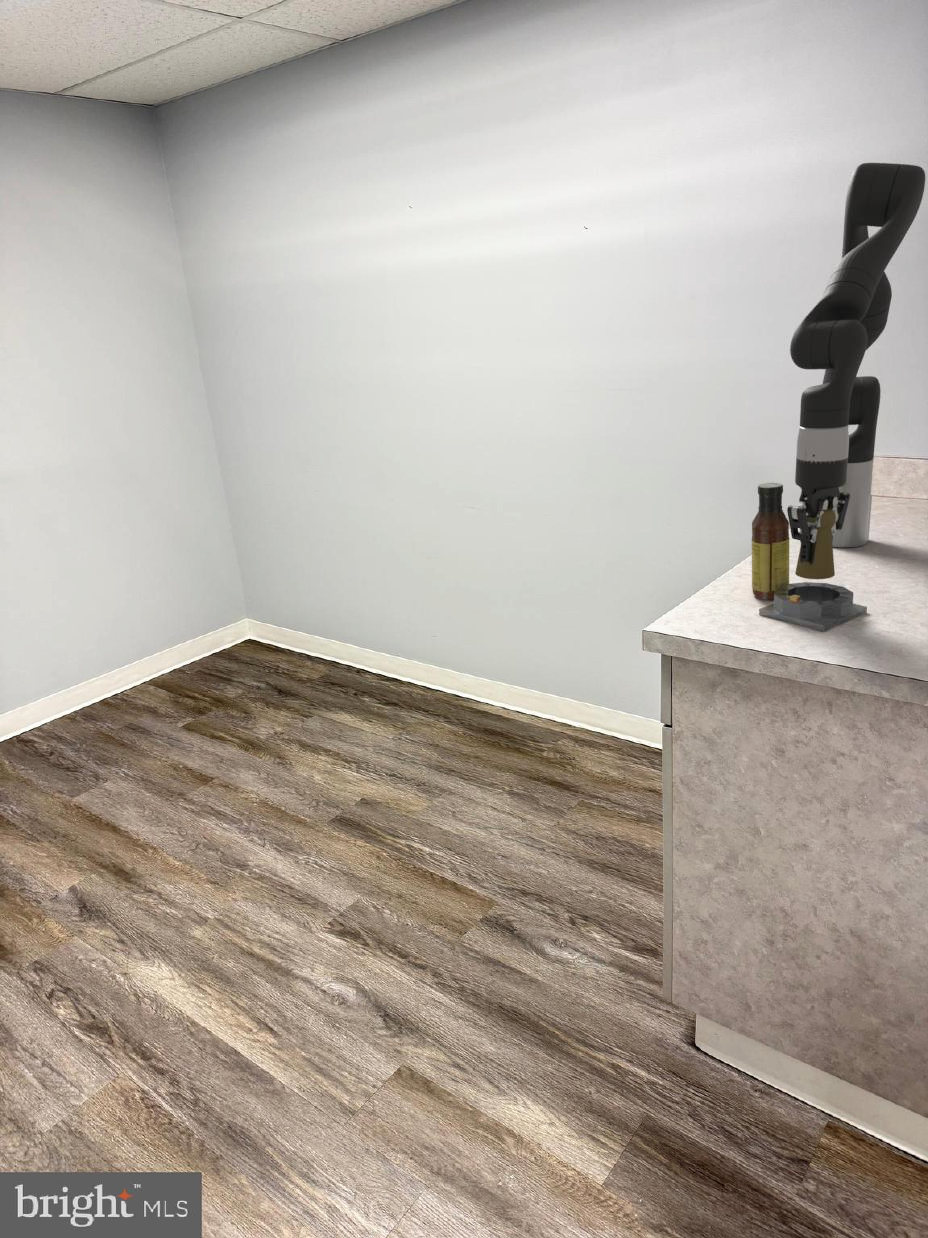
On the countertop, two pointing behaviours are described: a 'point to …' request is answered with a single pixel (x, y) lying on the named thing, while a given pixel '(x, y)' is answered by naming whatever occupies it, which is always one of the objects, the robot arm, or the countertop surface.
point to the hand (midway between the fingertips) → (815, 560)
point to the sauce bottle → (770, 543)
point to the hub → (813, 605)
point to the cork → (820, 550)
